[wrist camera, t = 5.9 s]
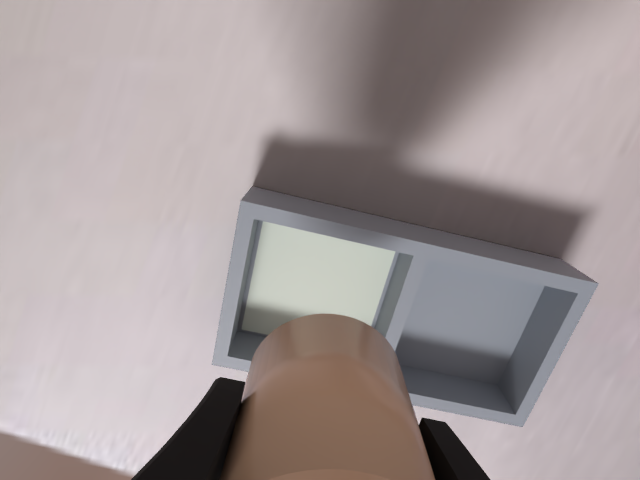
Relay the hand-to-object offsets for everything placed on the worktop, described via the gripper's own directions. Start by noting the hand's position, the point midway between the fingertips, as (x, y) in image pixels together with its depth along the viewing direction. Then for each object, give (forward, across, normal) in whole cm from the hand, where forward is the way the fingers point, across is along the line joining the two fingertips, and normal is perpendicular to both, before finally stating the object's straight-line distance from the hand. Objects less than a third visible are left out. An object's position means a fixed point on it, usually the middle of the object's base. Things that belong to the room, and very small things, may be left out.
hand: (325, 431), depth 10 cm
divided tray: (+9, -3, 0) cm, 10 cm away
